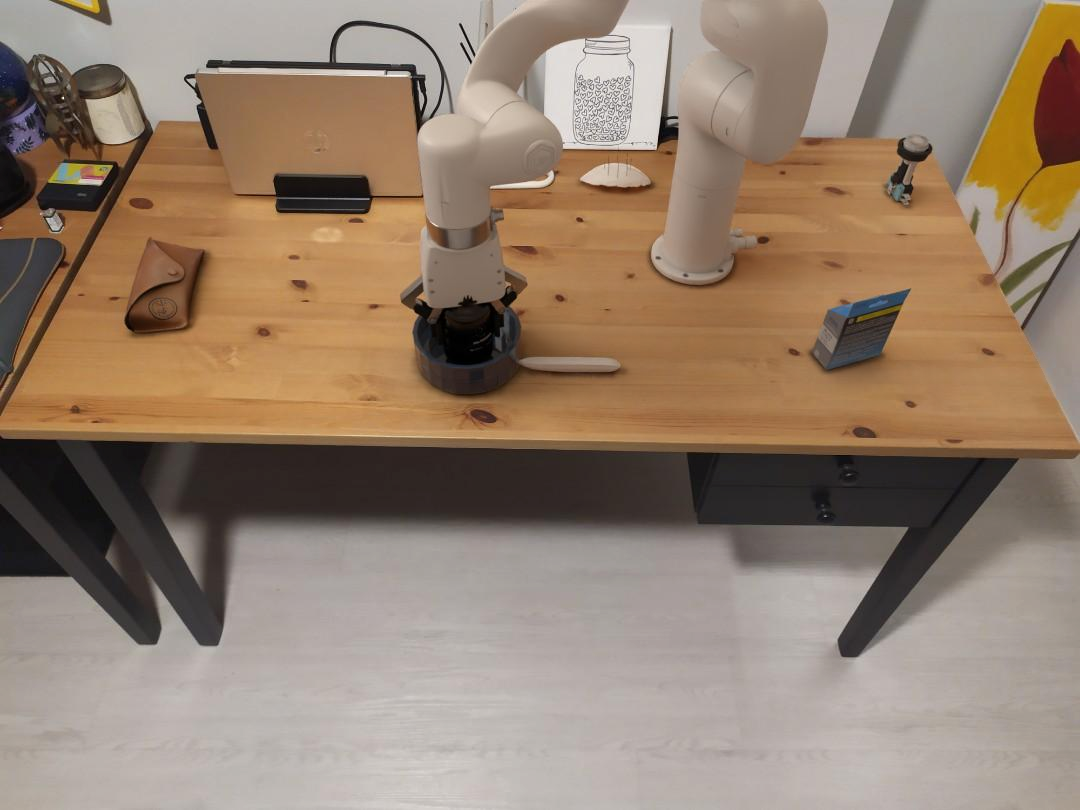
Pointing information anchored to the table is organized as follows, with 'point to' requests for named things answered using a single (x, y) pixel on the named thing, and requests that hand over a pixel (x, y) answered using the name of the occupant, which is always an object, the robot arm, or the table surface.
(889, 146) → the table surface
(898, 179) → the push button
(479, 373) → the bowl
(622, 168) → the pincushion
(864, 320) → the blue cardboard box
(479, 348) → the supplement bottle
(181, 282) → the sunglasses case
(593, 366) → the pen
